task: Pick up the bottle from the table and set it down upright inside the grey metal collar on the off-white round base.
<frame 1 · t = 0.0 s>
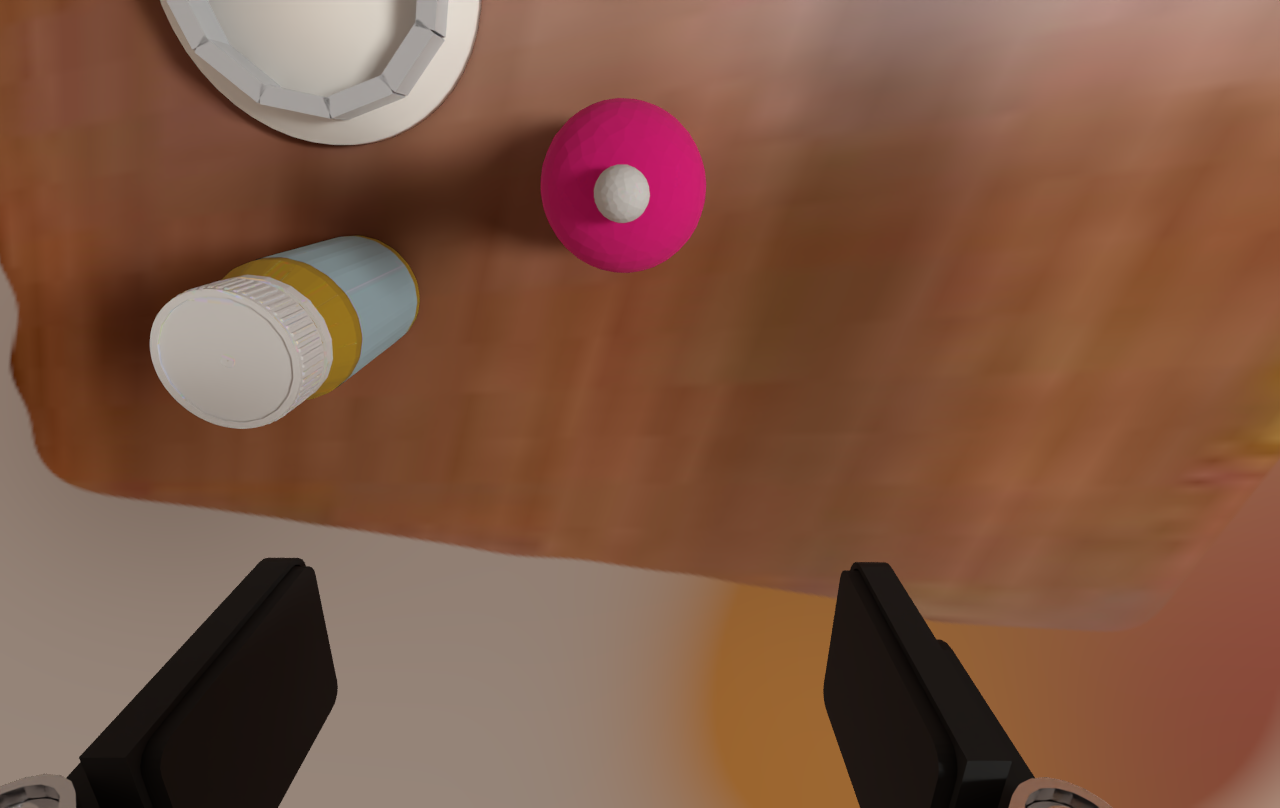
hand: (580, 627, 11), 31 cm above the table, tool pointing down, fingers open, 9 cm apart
bottle: (368, 290, 41), on the table
pepper mill: (627, 176, 38), on the table
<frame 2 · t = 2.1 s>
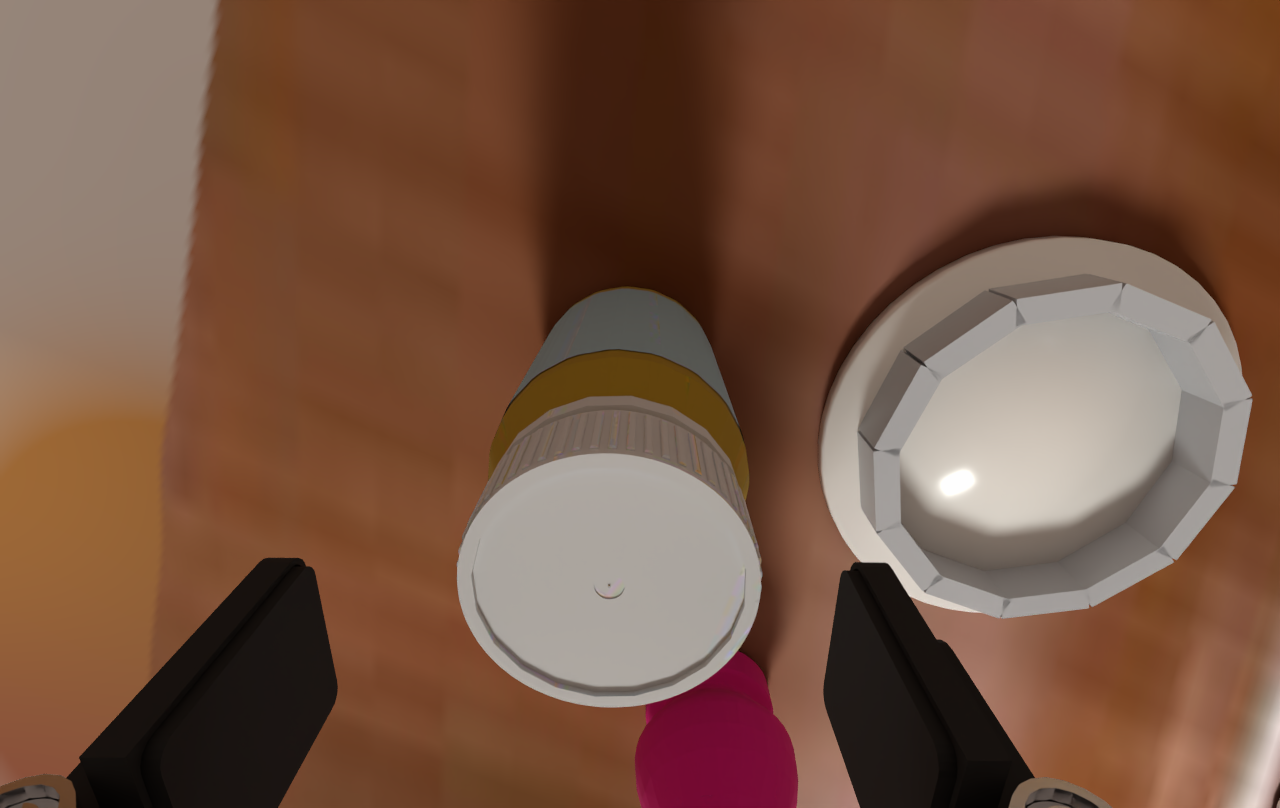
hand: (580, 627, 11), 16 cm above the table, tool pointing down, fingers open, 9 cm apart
collar base: (1014, 437, 28), on the table
bottle: (628, 365, 27), on the table
pepper mill: (706, 688, 33), on the table
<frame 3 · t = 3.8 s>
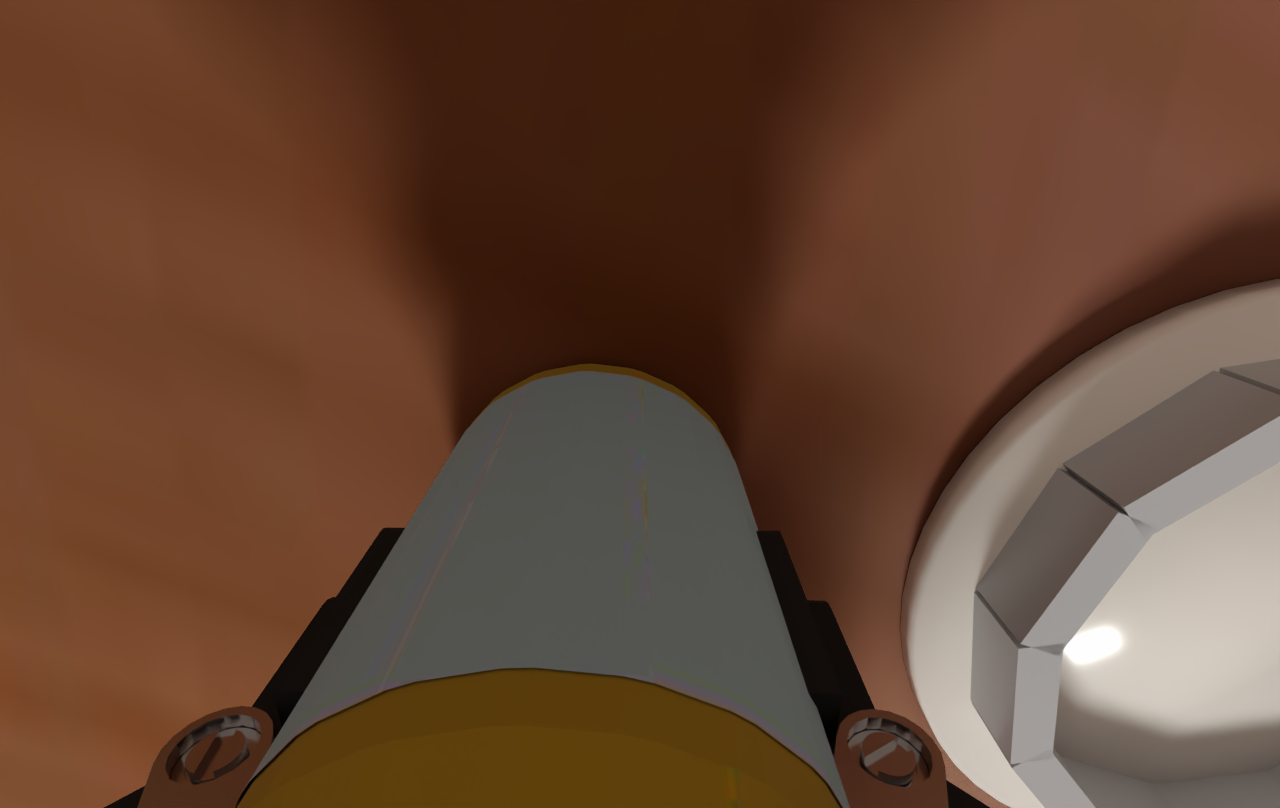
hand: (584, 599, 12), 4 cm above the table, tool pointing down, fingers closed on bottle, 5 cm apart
collar base: (1214, 587, 17), on the table
bottle: (597, 483, 16), on the table, touching gripper
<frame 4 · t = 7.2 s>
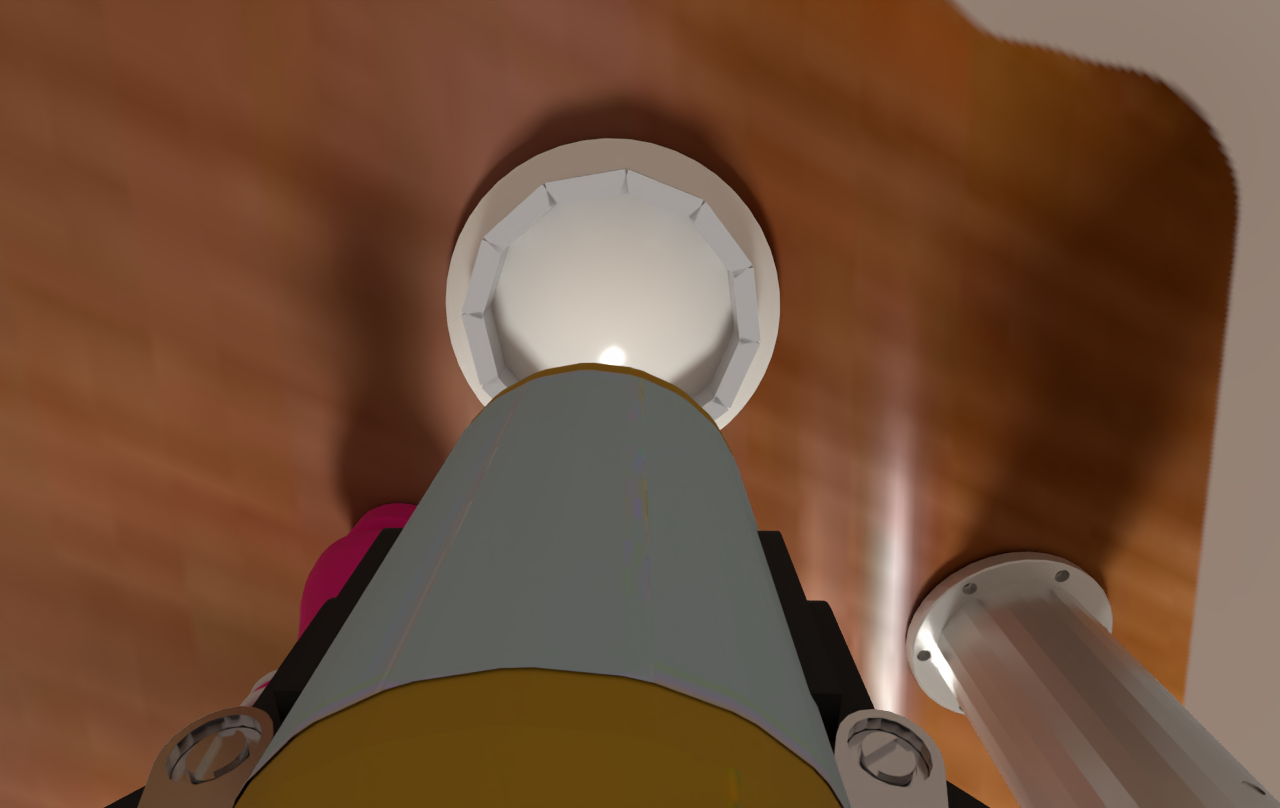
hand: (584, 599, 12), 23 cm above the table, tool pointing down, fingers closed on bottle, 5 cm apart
collar base: (614, 313, 34), on the table
bottle: (597, 483, 16), point 19 cm above the table, touching gripper
pepper mill: (406, 544, 39), on the table
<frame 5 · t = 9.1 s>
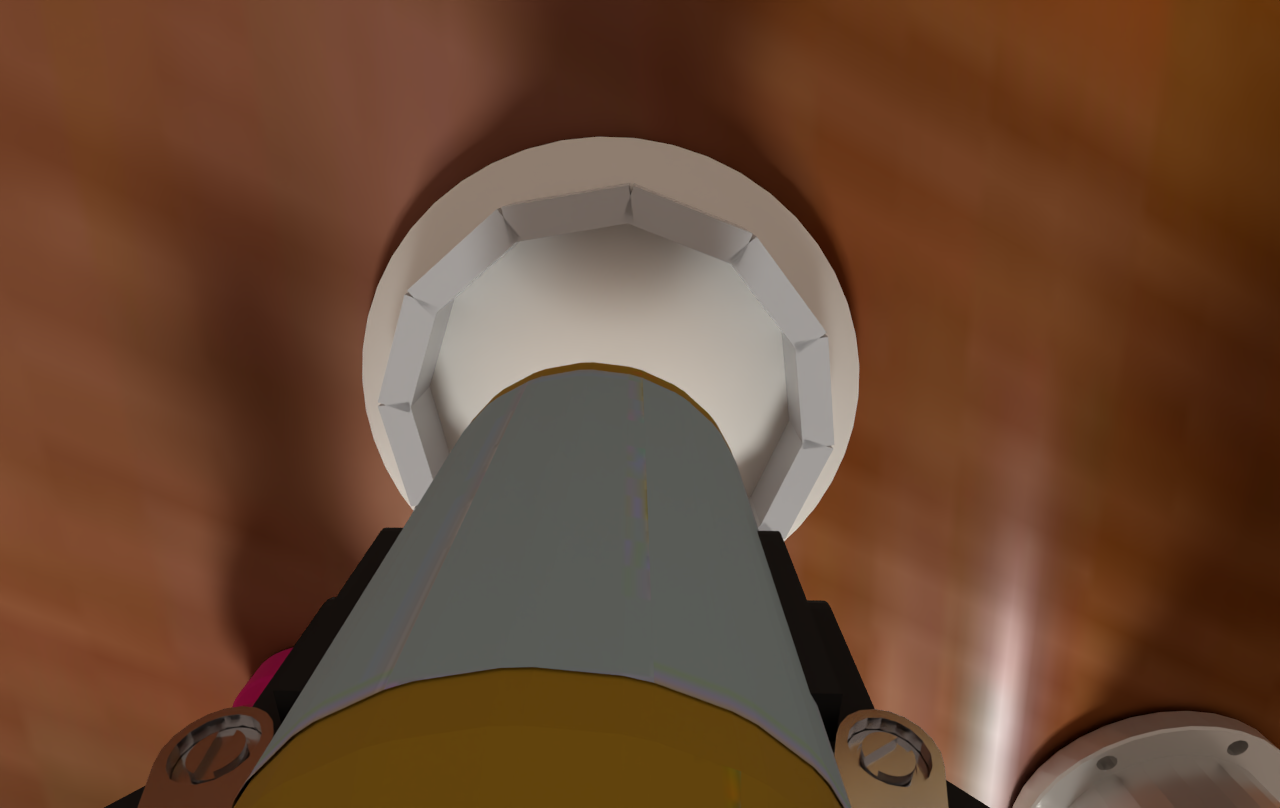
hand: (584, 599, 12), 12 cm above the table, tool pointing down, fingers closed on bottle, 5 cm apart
collar base: (612, 393, 23), on the table
bottle: (597, 482, 16), point 7 cm above the table, touching gripper
pepper mill: (327, 696, 28), on the table
when the fingers open (7 cm above the table, at t = 10.5 s): bottle drops 2 cm, resting on collar base.
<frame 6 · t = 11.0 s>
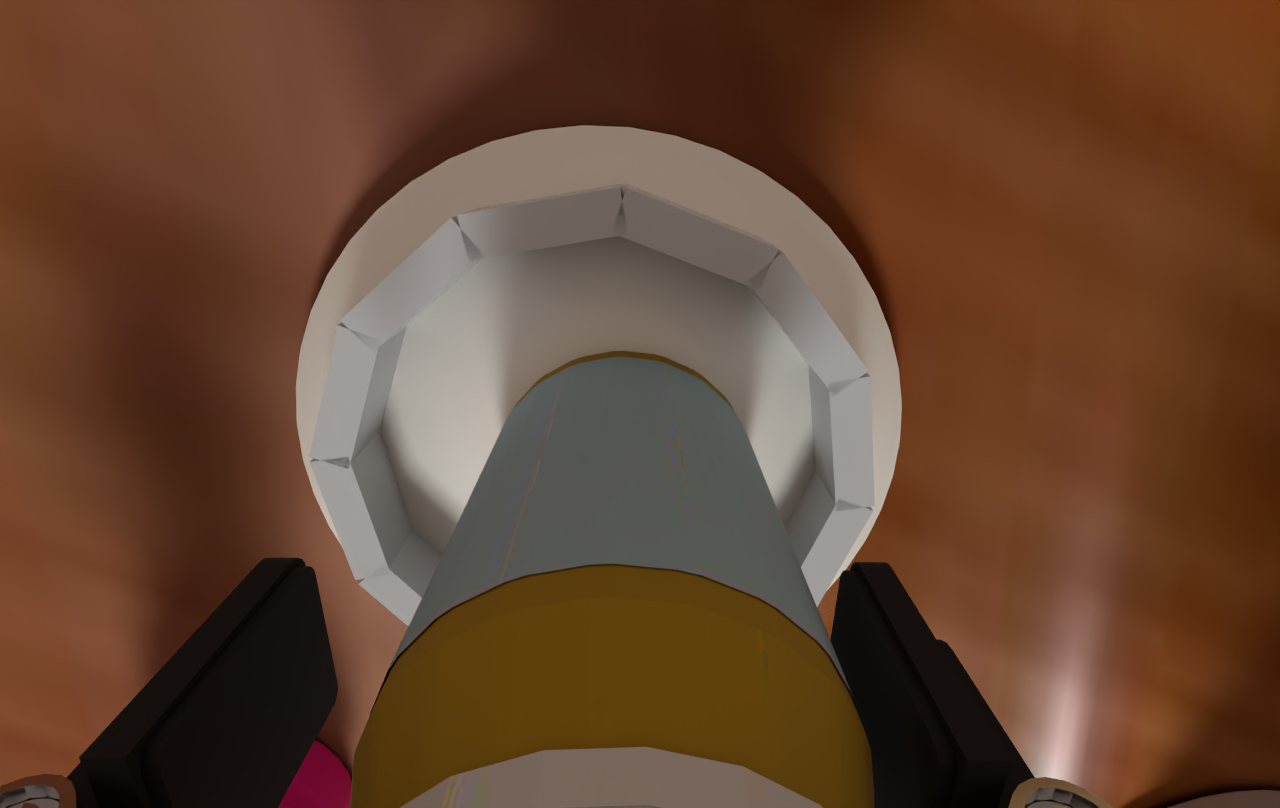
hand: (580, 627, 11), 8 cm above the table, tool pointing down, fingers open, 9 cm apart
collar base: (602, 436, 19), on the table
bottle: (624, 458, 18), point 1 cm above the table, touching collar base
pepper mill: (274, 777, 24), on the table
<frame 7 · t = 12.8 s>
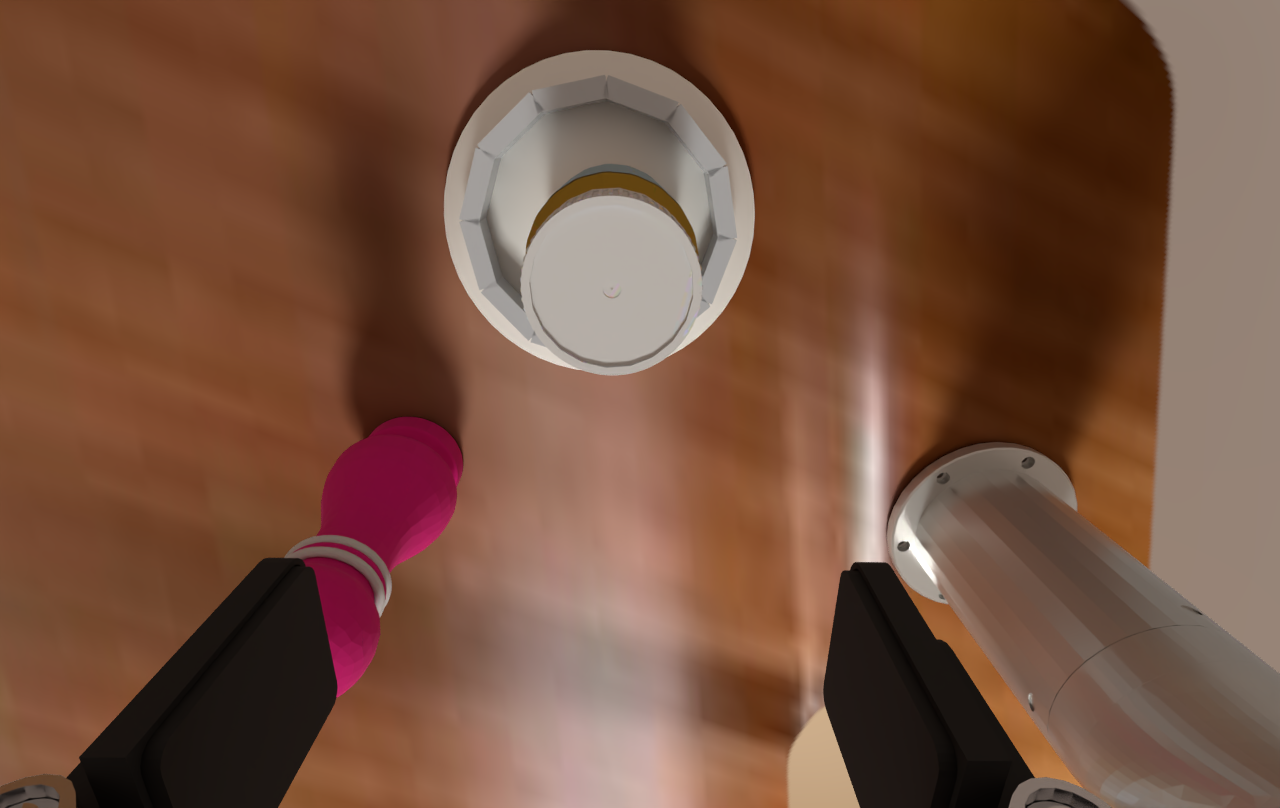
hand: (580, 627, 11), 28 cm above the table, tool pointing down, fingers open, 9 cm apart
collar base: (601, 223, 36), on the table
bottle: (613, 230, 35), point 1 cm above the table, touching collar base
pepper mill: (415, 458, 41), on the table
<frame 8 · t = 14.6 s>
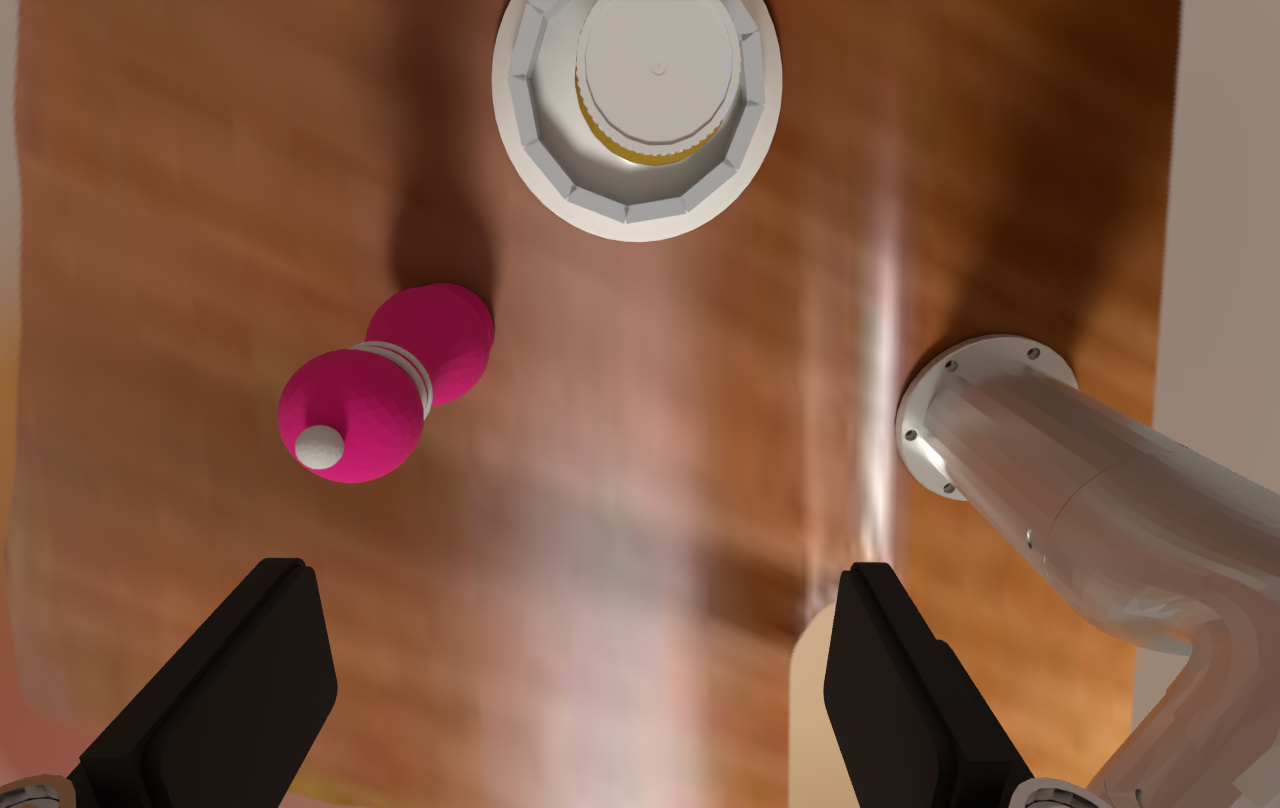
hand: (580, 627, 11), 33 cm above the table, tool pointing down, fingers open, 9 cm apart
collar base: (637, 95, 38), on the table
bottle: (648, 99, 38), point 1 cm above the table, touching collar base
pepper mill: (449, 327, 44), on the table
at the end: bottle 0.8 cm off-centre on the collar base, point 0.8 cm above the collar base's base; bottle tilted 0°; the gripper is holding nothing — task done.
